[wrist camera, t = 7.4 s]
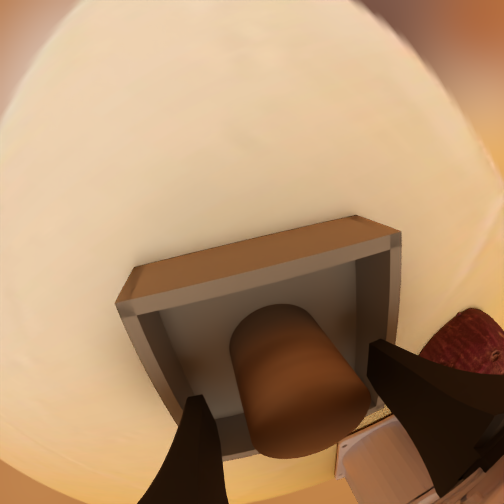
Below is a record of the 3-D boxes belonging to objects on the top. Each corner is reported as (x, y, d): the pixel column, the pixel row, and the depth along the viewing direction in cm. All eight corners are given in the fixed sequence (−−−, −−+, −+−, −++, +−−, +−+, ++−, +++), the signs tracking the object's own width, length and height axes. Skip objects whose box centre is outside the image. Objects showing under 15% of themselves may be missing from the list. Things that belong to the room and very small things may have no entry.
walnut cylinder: (317, 364, 15) (362, 435, 9) (237, 385, 14) (259, 468, 9) (316, 293, 13) (378, 361, 8) (221, 315, 13) (241, 405, 7)
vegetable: (409, 388, 24) (453, 500, 11) (382, 358, 19) (445, 522, 7) (485, 331, 21) (544, 435, 8) (483, 279, 16) (577, 421, 4)
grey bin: (357, 374, 17) (383, 407, 13) (199, 420, 15) (204, 464, 12) (356, 215, 13) (401, 231, 10) (133, 267, 12) (114, 303, 8)
